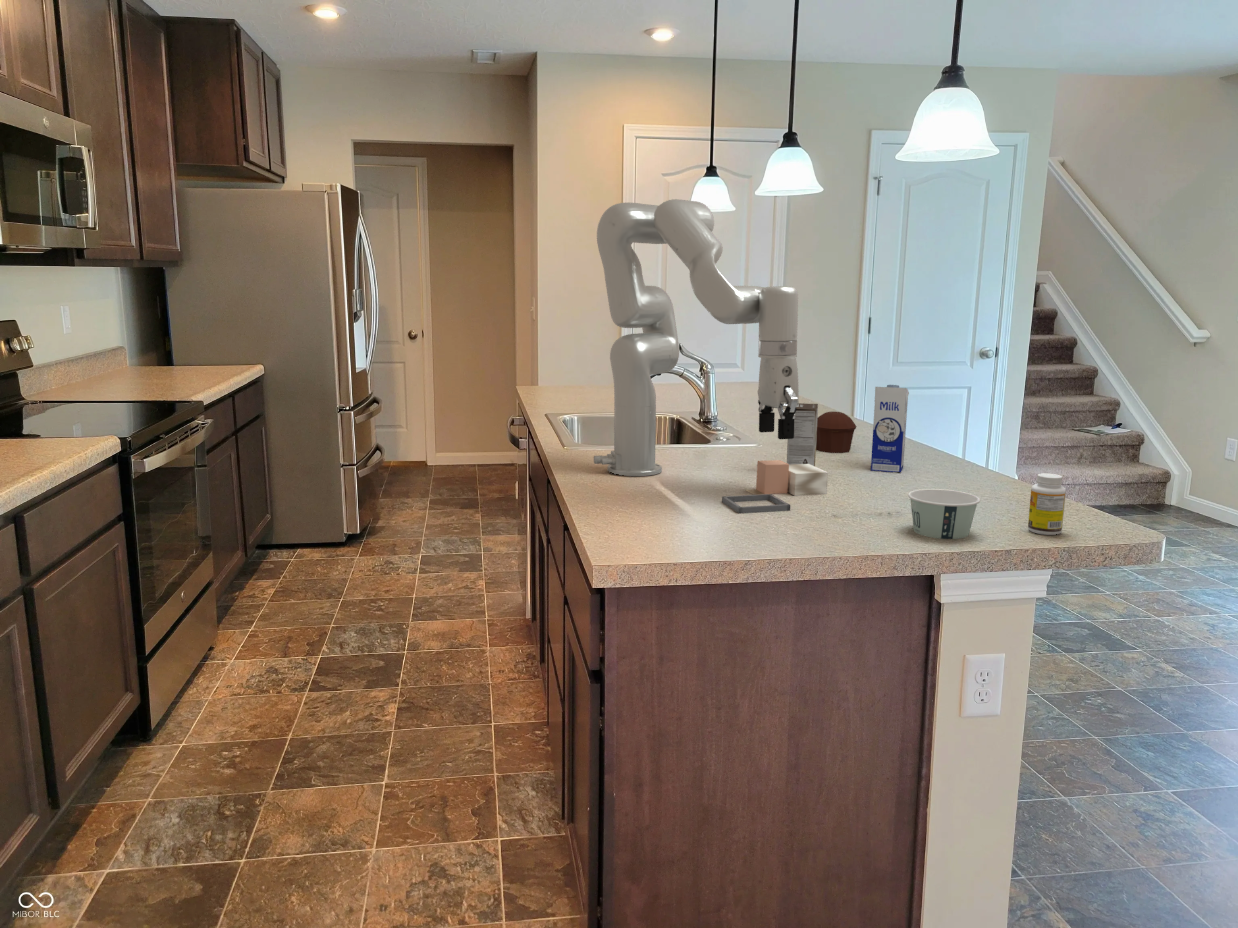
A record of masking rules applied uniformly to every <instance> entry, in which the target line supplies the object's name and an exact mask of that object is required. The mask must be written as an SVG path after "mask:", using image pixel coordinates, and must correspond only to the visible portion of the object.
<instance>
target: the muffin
mask: <svg viewBox="0 0 1238 928" xmlns="http://www.w3.org/2000/svg"><path fill="white" fill-rule="evenodd" d="M856 429H857V425H856V424H855V422H854V420H853V419H852V418H851V417H850V416H849V415H847V414H846V413H844V412H842V411H841V412H840V411H827V412H824V413H822V414H821V415H819V416H818V418H817V440H816V452H820V453H827V454H844V453H845V454H846V453H850V451H851V448H852V447H851V446H852V443H853V437H854V434H855V430H856Z"/></svg>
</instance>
